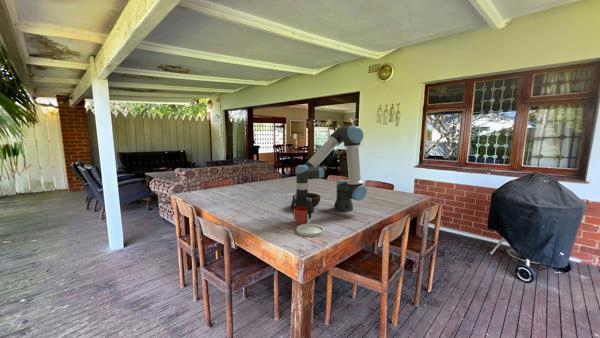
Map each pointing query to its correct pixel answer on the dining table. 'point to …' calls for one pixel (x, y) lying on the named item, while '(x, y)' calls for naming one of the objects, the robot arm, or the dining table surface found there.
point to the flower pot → (301, 215)
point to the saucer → (310, 230)
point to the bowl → (314, 199)
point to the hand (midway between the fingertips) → (301, 221)
